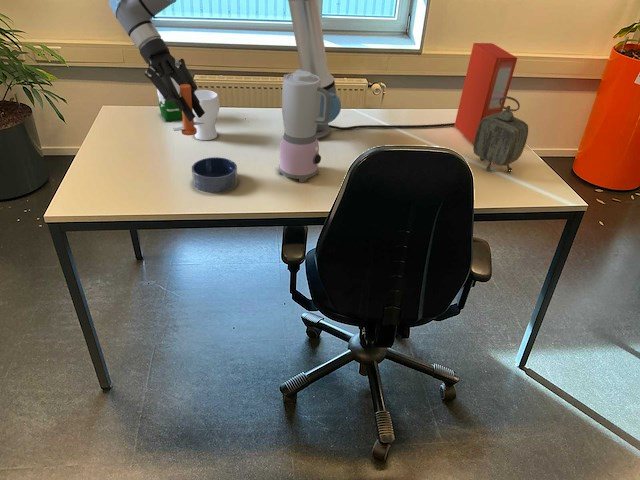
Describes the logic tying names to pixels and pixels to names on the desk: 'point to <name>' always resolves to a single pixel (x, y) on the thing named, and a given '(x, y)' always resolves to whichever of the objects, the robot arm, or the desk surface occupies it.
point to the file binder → (484, 86)
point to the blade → (187, 126)
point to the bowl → (214, 175)
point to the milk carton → (169, 106)
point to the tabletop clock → (501, 137)
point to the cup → (207, 114)
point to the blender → (301, 124)
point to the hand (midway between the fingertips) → (197, 117)
